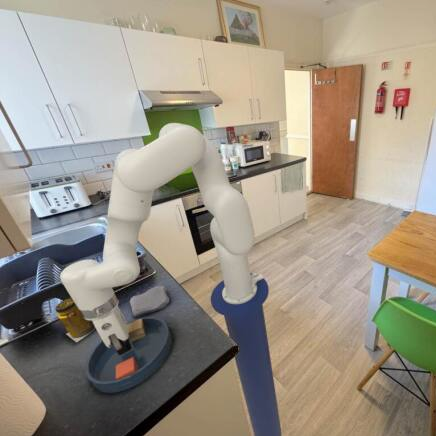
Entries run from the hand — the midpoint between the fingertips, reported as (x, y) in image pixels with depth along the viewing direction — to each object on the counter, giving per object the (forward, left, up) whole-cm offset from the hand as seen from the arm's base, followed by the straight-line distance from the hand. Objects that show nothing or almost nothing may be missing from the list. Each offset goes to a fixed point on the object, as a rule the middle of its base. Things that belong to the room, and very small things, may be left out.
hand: (125, 350), depth 69 cm
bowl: (-2, +2, -2) cm, 3 cm away
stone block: (-10, -16, -2) cm, 19 cm away
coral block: (0, +9, -1) cm, 9 cm away
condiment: (+9, -20, -2) cm, 22 cm away
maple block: (-4, -5, -1) cm, 6 cm away
